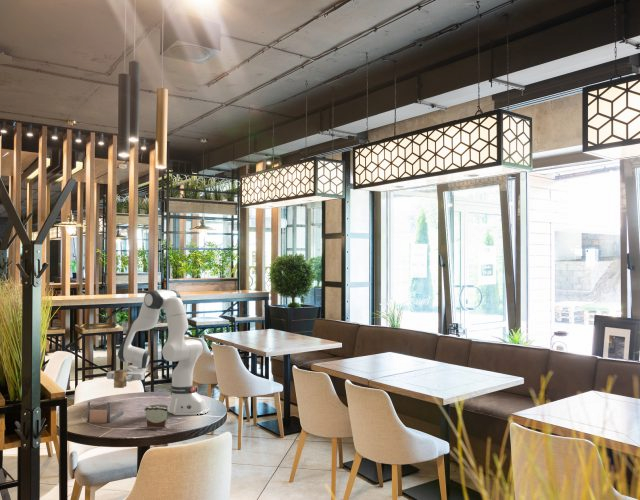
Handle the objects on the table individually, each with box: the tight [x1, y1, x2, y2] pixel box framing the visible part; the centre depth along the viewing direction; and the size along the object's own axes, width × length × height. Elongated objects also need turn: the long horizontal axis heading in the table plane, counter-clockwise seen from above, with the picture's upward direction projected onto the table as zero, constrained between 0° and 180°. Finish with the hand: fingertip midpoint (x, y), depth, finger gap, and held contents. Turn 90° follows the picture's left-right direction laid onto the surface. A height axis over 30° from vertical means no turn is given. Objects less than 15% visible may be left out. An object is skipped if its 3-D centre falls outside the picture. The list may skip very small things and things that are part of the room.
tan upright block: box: [113, 369, 128, 389], centre depth 307 cm, size 5×5×9 cm
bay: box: [86, 401, 124, 424], centre depth 290 cm, size 12×17×10 cm
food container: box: [144, 403, 169, 429], centre depth 277 cm, size 12×6×10 cm, turn 84°
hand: (119, 378), depth 306 cm, fingers closed on tan upright block, 5 cm apart
